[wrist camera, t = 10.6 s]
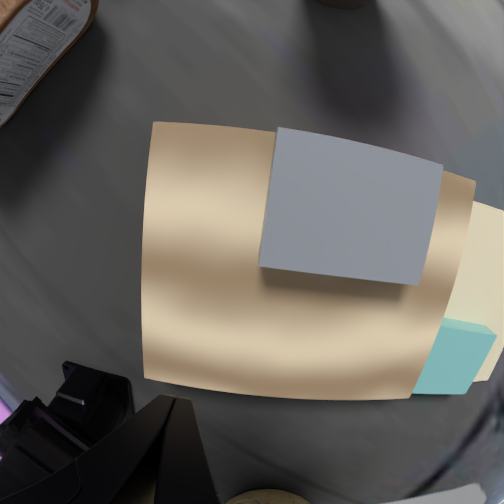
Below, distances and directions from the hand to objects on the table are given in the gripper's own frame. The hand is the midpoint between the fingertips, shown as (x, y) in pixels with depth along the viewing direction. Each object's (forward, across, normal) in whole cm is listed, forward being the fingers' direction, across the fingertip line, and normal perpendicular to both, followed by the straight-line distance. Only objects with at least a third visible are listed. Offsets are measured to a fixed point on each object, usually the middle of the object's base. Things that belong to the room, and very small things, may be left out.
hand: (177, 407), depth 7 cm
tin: (+13, +16, -13) cm, 25 cm away
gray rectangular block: (+9, -6, -5) cm, 12 cm away
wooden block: (+13, -5, 0) cm, 14 cm away
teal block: (+13, -18, +5) cm, 23 cm away
